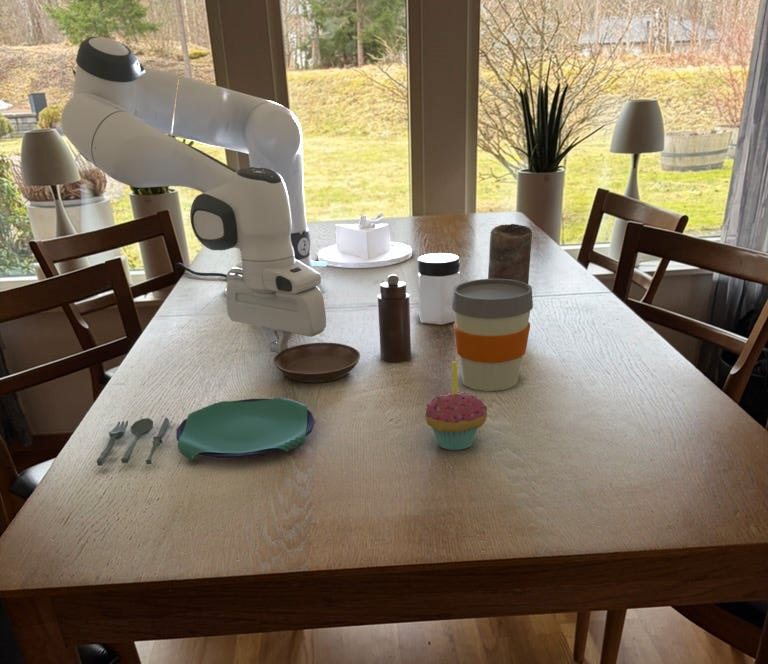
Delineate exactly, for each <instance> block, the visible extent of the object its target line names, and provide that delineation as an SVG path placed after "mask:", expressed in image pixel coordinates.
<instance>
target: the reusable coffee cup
mask: <svg viewBox="0 0 768 664" xmlns="http://www.w3.org/2000/svg"><path fill="white" fill-rule="evenodd" d="M533 300H534V299H533V288H532V286H531V285H530V284H529V283H528V284H527V283H524V282H521V281H516V280H509V279H488V278H482V279H481V278H480V279H473V280H468V281H463V282H462V283H461V282H460V284H459V285H457V286H455V288H454V291H453V300H452V309H453V311H454V314H455V322H453V327H452V328H453V334H454V341H455V351H456V355H458V356H459V361H460V368H461V369H460V370H461V378H462V383H463V385H465V387H468V388H470V389H472V390H477V391H484V392H497V391H504V390H508V389H510V388H513V387H515V386H516V385H517V384H518V382H519V381H518V380H519V378H520V377H519V376H520V370H521V365H522V359H523V356H524V355H525V354H526V353H527V346H528V340H529V336H530V335H529V334H530V329H531V323H530V322H529V320H530V314H531V311H532V310H533V308H534V303H533Z"/></svg>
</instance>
